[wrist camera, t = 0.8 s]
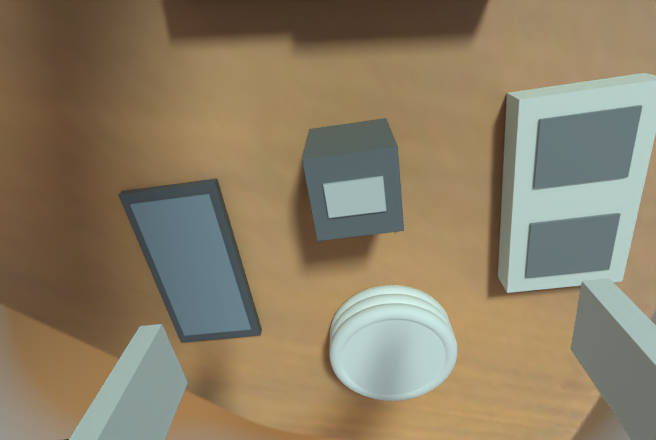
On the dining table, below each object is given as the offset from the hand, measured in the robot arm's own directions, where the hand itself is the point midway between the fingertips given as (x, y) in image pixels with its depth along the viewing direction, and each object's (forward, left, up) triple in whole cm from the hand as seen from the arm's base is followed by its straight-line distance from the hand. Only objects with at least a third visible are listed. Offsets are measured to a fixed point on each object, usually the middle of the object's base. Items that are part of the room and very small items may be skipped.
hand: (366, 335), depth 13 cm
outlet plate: (+4, +14, -16) cm, 22 cm away
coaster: (+15, +1, -17) cm, 23 cm away
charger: (0, 0, -16) cm, 17 cm away
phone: (+7, -13, -17) cm, 22 cm away
